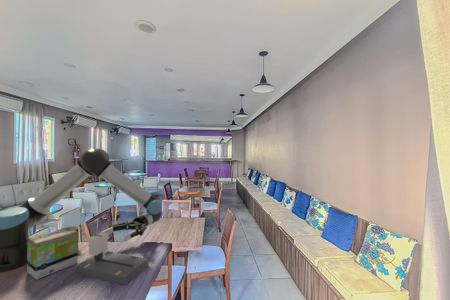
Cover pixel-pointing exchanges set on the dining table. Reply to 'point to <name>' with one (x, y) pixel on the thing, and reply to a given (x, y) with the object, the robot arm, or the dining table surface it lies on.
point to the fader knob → (98, 245)
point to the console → (113, 267)
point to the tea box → (52, 252)
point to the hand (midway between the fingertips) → (113, 236)
